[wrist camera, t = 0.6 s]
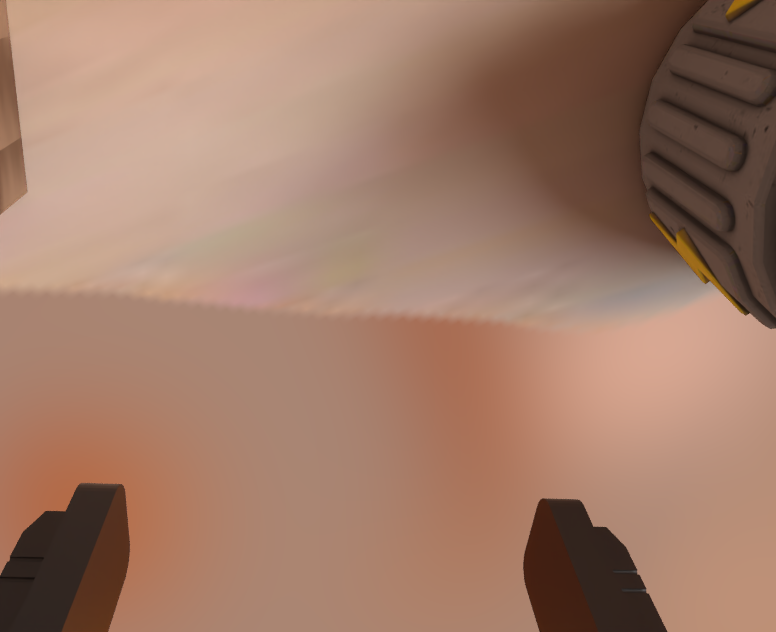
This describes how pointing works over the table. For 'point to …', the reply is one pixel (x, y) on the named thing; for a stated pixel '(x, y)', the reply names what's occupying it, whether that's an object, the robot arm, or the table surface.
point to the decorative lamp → (718, 150)
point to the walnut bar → (9, 124)
